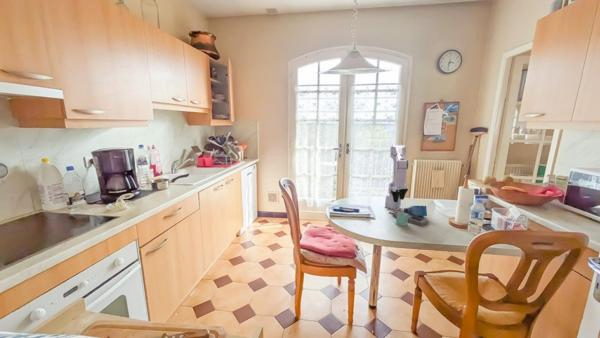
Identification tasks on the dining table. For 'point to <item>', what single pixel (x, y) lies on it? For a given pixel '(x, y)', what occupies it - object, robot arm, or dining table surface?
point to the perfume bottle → (416, 210)
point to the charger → (402, 219)
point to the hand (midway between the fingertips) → (398, 200)
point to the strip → (413, 219)
